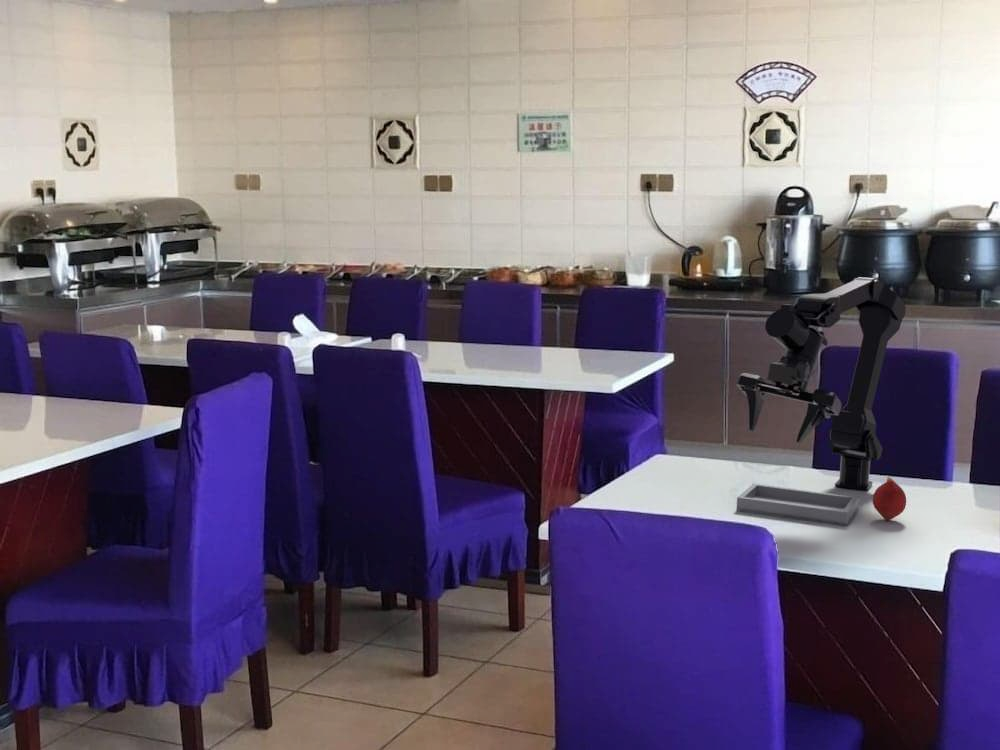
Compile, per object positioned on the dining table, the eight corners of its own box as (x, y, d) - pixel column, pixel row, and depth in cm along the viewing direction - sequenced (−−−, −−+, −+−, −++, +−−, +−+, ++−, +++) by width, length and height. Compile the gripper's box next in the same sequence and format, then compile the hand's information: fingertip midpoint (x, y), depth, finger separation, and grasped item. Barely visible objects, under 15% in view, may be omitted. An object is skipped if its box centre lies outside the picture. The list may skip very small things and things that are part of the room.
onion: (904, 517, 222) (908, 475, 221) (904, 526, 217) (907, 482, 216) (871, 514, 224) (875, 472, 223) (870, 522, 219) (873, 479, 217)
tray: (752, 496, 235) (753, 483, 235) (857, 510, 227) (858, 497, 226) (736, 510, 224) (737, 497, 224) (846, 526, 216) (847, 512, 215)
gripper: (741, 333, 223) (714, 412, 220) (839, 353, 213) (812, 436, 210) (758, 354, 232) (732, 429, 229) (852, 374, 222) (827, 453, 219)
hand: (774, 436), depth 222 cm, fingers open, 9 cm apart
